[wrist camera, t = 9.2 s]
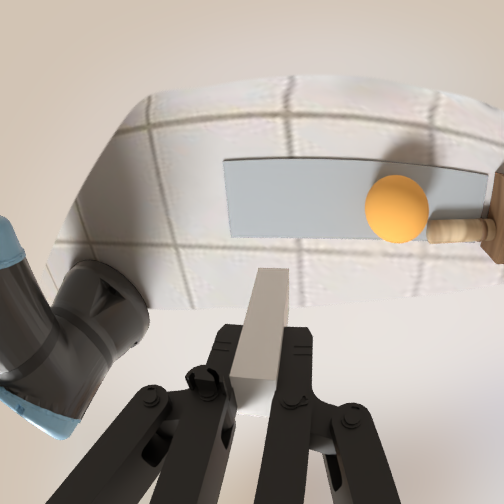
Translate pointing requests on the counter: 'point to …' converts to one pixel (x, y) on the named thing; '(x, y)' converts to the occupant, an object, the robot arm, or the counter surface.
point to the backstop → (496, 221)
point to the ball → (396, 209)
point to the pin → (460, 230)
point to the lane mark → (335, 196)
